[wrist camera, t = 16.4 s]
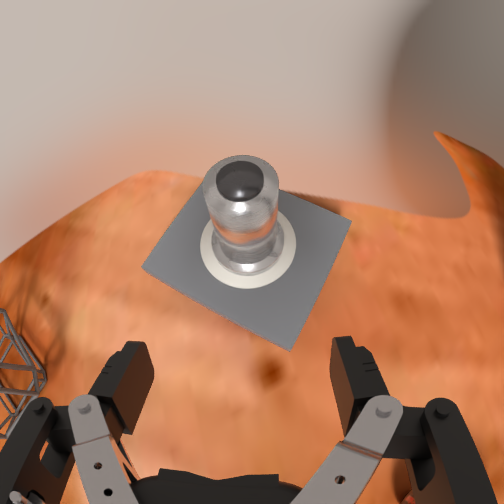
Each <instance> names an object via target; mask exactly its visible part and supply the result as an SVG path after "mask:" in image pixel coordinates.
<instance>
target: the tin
mask: <svg viewBox="0 0 504 504" xmlns="http://www.w3.org/2000/svg"><path fill="white" fill-rule="evenodd" d="M401 504H415V500H414V495H413V491H412V490H411V491H410V492H409V493H408V494H407V495H406V497H405V498H404V500H403V501H402V502H401Z"/></svg>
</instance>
